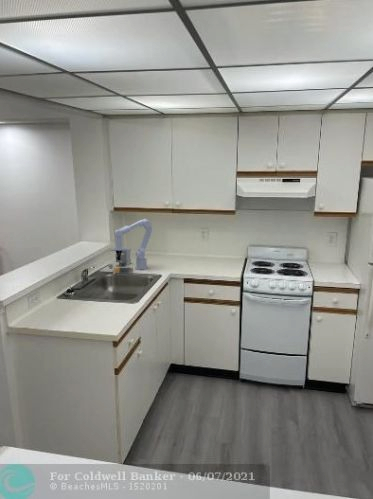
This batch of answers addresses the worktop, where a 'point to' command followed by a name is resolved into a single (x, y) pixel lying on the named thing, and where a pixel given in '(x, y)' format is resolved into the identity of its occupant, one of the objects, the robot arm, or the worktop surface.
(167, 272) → the worktop surface
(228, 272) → the worktop surface
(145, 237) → the robot arm
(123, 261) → the circuit breaker
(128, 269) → the breaker panel
